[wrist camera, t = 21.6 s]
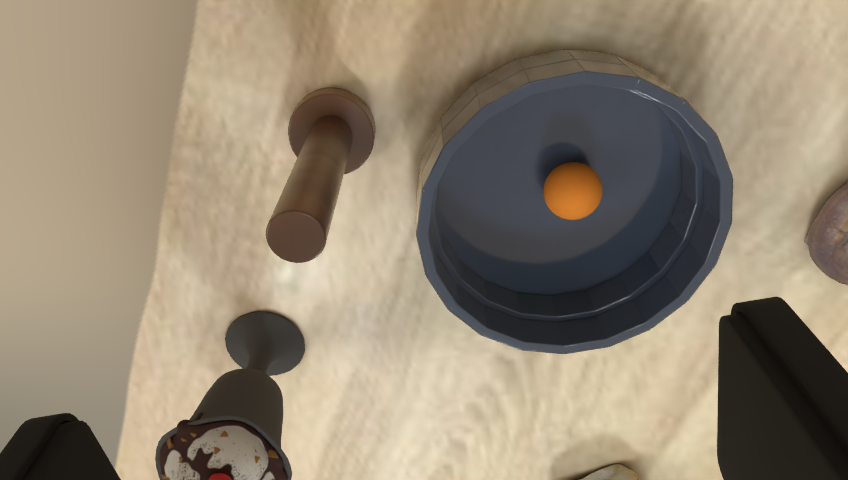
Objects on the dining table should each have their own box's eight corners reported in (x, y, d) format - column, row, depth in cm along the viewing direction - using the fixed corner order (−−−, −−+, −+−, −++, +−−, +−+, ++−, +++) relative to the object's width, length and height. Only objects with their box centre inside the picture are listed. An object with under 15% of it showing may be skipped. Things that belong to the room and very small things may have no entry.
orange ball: (554, 233, 34) (555, 221, 36) (612, 213, 33) (608, 202, 36) (534, 178, 33) (536, 170, 36) (592, 157, 32) (589, 150, 35)
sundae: (286, 283, 39) (219, 485, 26) (335, 365, 42) (297, 584, 29) (191, 318, 41) (80, 528, 27) (245, 396, 44) (169, 618, 30)
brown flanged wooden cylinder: (281, 96, 34) (217, 194, 23) (364, 79, 34) (338, 171, 23) (305, 174, 36) (257, 297, 25) (383, 159, 36) (368, 277, 25)
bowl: (391, 80, 34) (386, 110, 29) (693, 19, 32) (736, 41, 28) (445, 320, 41) (448, 373, 36) (695, 278, 39) (729, 328, 35)
